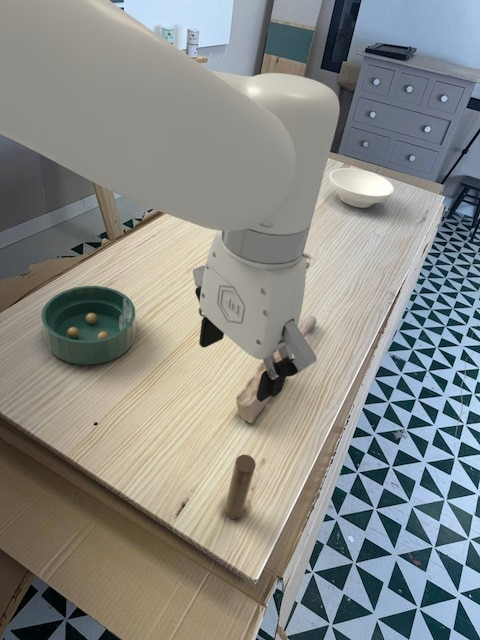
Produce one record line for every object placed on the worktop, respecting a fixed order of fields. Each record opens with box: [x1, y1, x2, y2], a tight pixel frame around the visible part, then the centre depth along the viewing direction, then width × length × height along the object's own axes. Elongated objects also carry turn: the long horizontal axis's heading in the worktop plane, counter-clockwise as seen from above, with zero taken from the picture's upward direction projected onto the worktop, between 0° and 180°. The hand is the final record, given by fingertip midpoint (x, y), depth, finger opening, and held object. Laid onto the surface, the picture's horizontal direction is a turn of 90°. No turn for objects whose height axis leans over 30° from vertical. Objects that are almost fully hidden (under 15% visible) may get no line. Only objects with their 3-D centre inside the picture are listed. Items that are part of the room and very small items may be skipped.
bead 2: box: [86, 313, 97, 324], centre depth 84 cm, size 2×2×2 cm
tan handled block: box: [235, 315, 318, 424], centre depth 82 cm, size 8×4×30 cm
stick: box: [224, 454, 257, 520], centre depth 58 cm, size 2×2×11 cm
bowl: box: [329, 167, 395, 209], centre depth 141 cm, size 20×20×7 cm
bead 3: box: [97, 331, 109, 339], centre depth 81 cm, size 2×2×2 cm
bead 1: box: [67, 327, 79, 339], centre depth 81 cm, size 2×2×2 cm
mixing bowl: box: [40, 285, 137, 365], centre depth 81 cm, size 15×15×6 cm
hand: (238, 367), depth 52 cm, fingers open, 9 cm apart
